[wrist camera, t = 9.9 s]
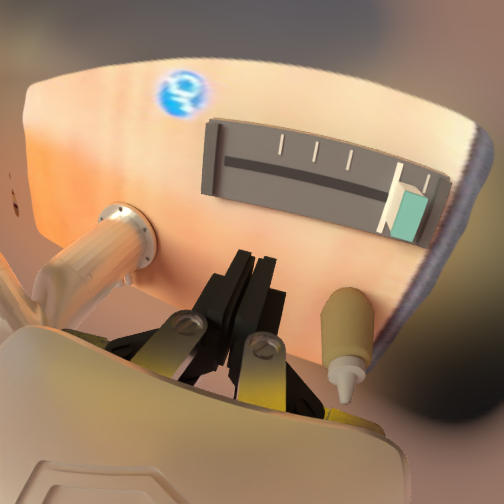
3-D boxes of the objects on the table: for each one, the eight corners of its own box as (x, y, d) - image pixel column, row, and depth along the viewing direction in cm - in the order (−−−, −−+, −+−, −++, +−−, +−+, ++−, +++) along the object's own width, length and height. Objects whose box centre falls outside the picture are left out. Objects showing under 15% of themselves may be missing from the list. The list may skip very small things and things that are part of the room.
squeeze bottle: (353, 326, 44) (352, 422, 29) (312, 308, 44) (297, 406, 29) (382, 293, 40) (395, 394, 25) (338, 272, 40) (335, 374, 25)
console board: (420, 240, 34) (426, 251, 32) (209, 189, 38) (200, 196, 36) (444, 173, 29) (453, 180, 26) (215, 117, 33) (206, 119, 31)
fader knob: (403, 224, 31) (412, 242, 28) (384, 219, 32) (391, 236, 28) (416, 186, 29) (428, 199, 25) (396, 179, 29) (406, 191, 25)
